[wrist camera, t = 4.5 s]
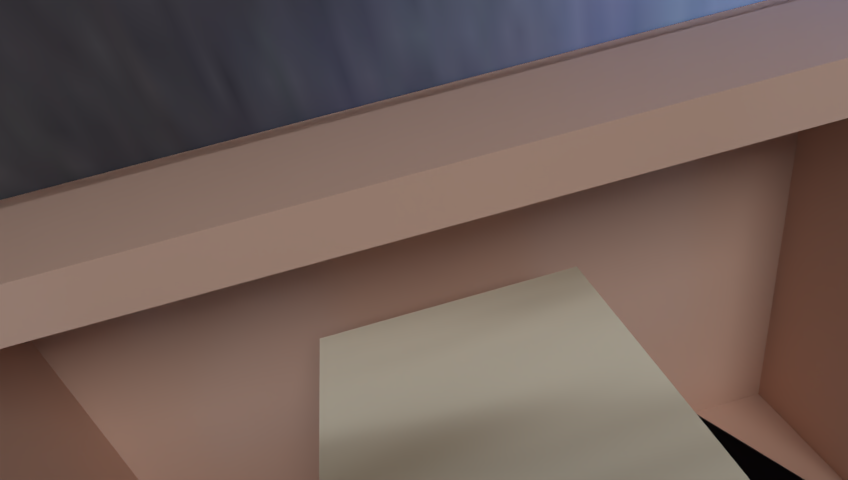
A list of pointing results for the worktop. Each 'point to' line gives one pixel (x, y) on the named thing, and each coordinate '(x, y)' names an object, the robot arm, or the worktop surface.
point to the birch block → (508, 395)
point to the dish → (450, 251)
